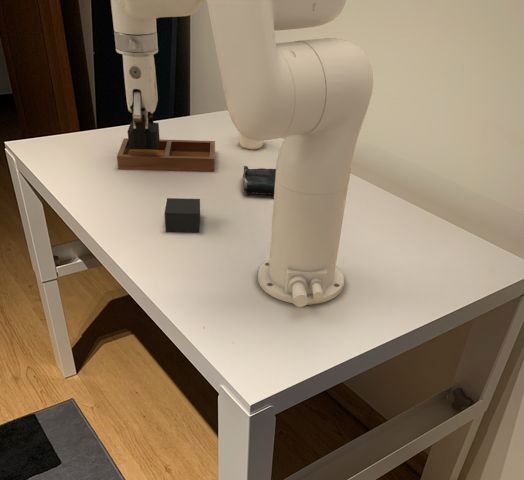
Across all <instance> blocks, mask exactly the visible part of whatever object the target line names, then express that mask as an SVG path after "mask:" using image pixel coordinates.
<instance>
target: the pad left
mask: <svg viewBox="0 0 524 480" xmlns="http://www.w3.org/2000/svg"><path fill="white" fill-rule="evenodd" d="M148 128H150V134H151V149H149V150H157V149H158V145H159V141H160V125H159V122H153V123H149V122H148ZM127 138H128V141H129V149H136V148H135V144H134V134H133V121H130V123H129V126H128V129H127Z"/></svg>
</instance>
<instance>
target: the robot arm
mask: <svg viewBox="0 0 524 480" xmlns="http://www.w3.org/2000/svg"><path fill="white" fill-rule="evenodd" d="M204 1H205V0H110V7H111V15H112V25H113V35H114V43H115V52H116V53H117V54H120V55H122V65H123V67H122V68H123V79H124V89H125V97H126V105H127V110H128V112H130V113H132V122H133V134H134V144H135V148H136V149H151V134H150V128H148V122H149V123H154V117H153V114H154V113H155V112H156V109H157V106H158V101H159V94H158V85H157V84H158V83H157V75H156V64H155V63H156V62H155V57H154V55H155V54H158V52H159V46H158V44H159V43H158V31H157V19H160V18H176V17H178V18H179V17H188V16H191V15H194V14H195V13H197V11H198V10H200V8H201V6H202V5H203V3H204ZM346 1H347V0H206V3H207V10H208V17H209V21H210V27H211V32H212V37H213V43H214V49H215V53H216V59H217V65H218V69H219V74H220V79H221V85H222V90H223V95H224V100H225V104H226V107H227V111H228V114H229V116H230V119H231V122H232V125H234V127H235V129H236V130H237V131H238V132H240V133H241V134H242V135H243V136H245V137H246V138H248V139H251V140H256V141H264V142H265V141H271V140H277V139H283V138H284V139H283V141H282V143H281V145H280V148H279V150H278V151H279V152H278V154H277V159H276V163H275V169H276V175H275V190H274V195H273V206H272V207H273V208H272V219H271V220H272V222H271V223H272V224H271V236H270V250H269V252H270V253H269V258H268V259H266V260H265V261H264V262H262V264H261V265H260V266H259V267H258V271H257V281H258V284H259V286H260V288H261V289H262V290H263V291H264V292H265V293H266V294H268V295H269V296H271V297H273V298H274V299H276V300H280V301H282V302H284V303H289V304H293V305H294V306H296V307H298V308H303V307H305V306H306V305H318V304H322V303H325V302H329V301H331V300H333V299H335V298H336V297H338V296H339V295H340V294H341V293H342V291H343V288H344V285H345V276H344V273H343V271H342V270H341V268H339V266H337V260H338V253H339V247H340V241H341V235H342V228H343V223H344V222H343V221H344V215H345V209H346V201H347V196H348V189H349V184H350V179H351V173H352V172H351V171H352V166H353V160H354V155H355V152H356V146H357V142H358V139H359V135H360V132H361V129H362V126H363V123H364V122H365V121H364V120H365V118H366V115H367V112H368V109H369V106H370V103H371V99H372V95H373V88H374V87H373V86H374V85H373V84H374V76H373V70H372V69H373V68H372V65H371V62H370V60H369V58H368V56H367V55H366V53H365V52H364V51H363V50H362V48H361V47H360V46H358V45H357V44H355V43H353V42H352V41H350V40H346V39H343V38H342V39H341V38H335V37H334V38H331V37H330V38H329V37H328V38H327V37H325V38H314V39H302V40H295V41H286V42H276V33H275V31H277V32H278V31H289V30H298V29H299V30H300V29H307V28H314V27H320V26H324V25H326V24H328V23H331V22H332V21H334V20H335V19H336V18H338V16H339V15H340V14H341V13H342V12H343V9H344V8H345V5H346Z"/></svg>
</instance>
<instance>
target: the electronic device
mask: <svg viewBox="0 0 524 480" xmlns="http://www.w3.org/2000/svg"><path fill="white" fill-rule="evenodd" d="M275 175H276V168H263V167H261V168H249V166H247V165H243V173H242V179H243V181H244V183H243V187H244V189H243V191H244V194H245V195H249V194H254V195H271V196H272V195H273V196H274V190H275Z"/></svg>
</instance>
